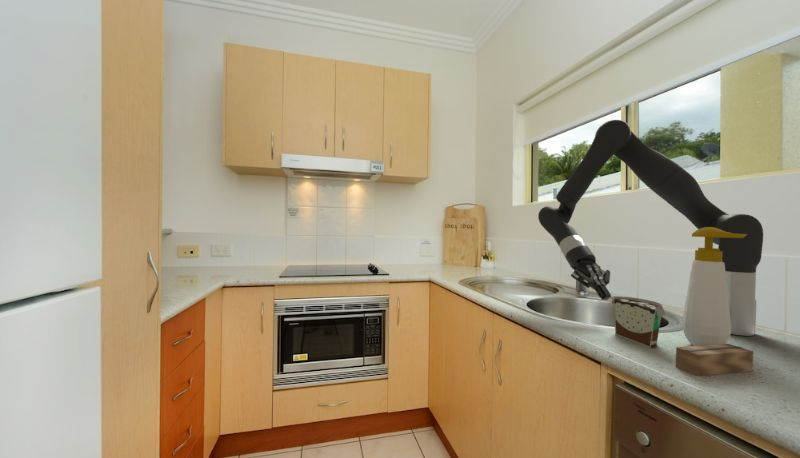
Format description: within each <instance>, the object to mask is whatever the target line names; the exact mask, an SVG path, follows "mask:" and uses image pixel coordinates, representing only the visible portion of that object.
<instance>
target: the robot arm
mask: <svg viewBox="0 0 800 458" xmlns="http://www.w3.org/2000/svg"><path fill="white" fill-rule="evenodd" d="M612 157H616V158H618V159H619V160H621V161H622V162H623V163H625V165H627V167H628V168H630V170H631V171H632V173H634V175H635V176H636V177H637V179H639V180H640V181H641V183H643V184H644V185H645V186H646V187H647V188H649V190H651V191H652V192H653V193H655V194H656V195H657V196H659V198H661V199H662V200H664V201H665V202H666V203H668V205H670V207H672V208H674V209H675V210H676V211H677V212H678V213H680V214H681V215H683V216H684V217H685V218H686V219H687V220H688V221H689V222H690V223H691V224H692V225H693V226H695V228H696V230H698V229H701V228H705V227H713V228H717V229H720V230H723V231H725V232H729V233H733V234H747V235H746V236H745V237H744V238H723V237H713V244H715V245H717V246H718V248H717V249H719V251H722V252H723V253H722V262H724V264H725V273H726V283H727V292H728V302H729V311H730V321H731V334H730V335H735V336H746V337H751V336H752V337H753V336H754V335H755V334H756V328H757V327H756V326H757V323H756V322H757V299H756V283H757V282H756V281H757V279H756V278H757V267H758V266H759V264H760V262H761V260H762V254H763V253H762V252H763V244H764V243H763V242H764V229H763V225H762V223H761V222H760V221H759V219H757V218H756V217H754V216H753V215H750V214H745V213H733V214H729V213H727V212H725V211H723V210H722V209H720V208H719V207H718V206H716V205H715V204H714V203H712V202H711V201H710V199H708V198H707V197H706V196H705V194H704V192H703V191H702V189H701V186H700V185H699V183H698V181H697V180H696V178H695V177H694V176H693V175H692V174H690V173H689V171H687V170H685V169H684V168H683V167H682V166H681V165H679V164H678V163H676V162H675V161H673V160H672V159H671V158H669V157H668V156H666V155H664V154H662V153H661V152H659V151H657V150H655V149H653V148H651V147H650V146H648V145H647V144H645V143H644V142H643V141H642V140H641V139H640V138H639V137H638V136H637V135H636V134H635V133H634V132H633V131H632V130H631V127H630V125H629V123H627V122H626V121H624V120H622V119H611V120H607V121H605V122H604V123H602V124H601V125H599V127H598V128H597V130H596V132H595V135H594V138H593V141H592V142H591V144H590V146H589V149H588V150H587V152H586V154H585V155H584V156H583V159H582V160H581V162H579V164H578V166H577V167H575V169H574V170H573V172H572V173H571V174H570V176H569V177H568V178H567V179H566V181H565V182H564V184H563V185H562V187H561V188H560V190H559V191H558V193H556V194H557V195H556V197H555V199H556V201H557V202H559V206H558V208H557V207H553V206H543V207H542V208H541V209H540V210H539V212H538V215H537V216H538V222H539V224H540V225H541V226H542V228H543V229H544V230H545V231H546V232H547V233H548V234H550V235H551V237H552V238H553V239H554V241H555V242H556V243H557V245H558V247H559V249H560V251H561V254H562V255H563V256H564V258H565V260H566V261H567V263H568V265H569V266H570V268H571V269H572V270H573V272H572V273H571V274H570V277H571V278H573V279H574V280H576V281H577V282H578V283H580V284H582V286H584V287H586V289H587V288H588V289H589V288H591V289H592V290H594V291H595V292H596V294H597V295H598V297H599V298H600V299H601V300H602V301H608V300H609V299H611V297H612V295H611V293H610V291H609V289H608V288H607V285H609V284H610V281H611V271H610V269H606V270H604V269H602V268H601V266H600V265H599V264H597V262H596V261H597V259H596V256H595V254H594V252H592V251H591V249H590V247H589V246H588V245H587V243H586V242H585V240H584V239H583V238H581V237H580V235H579V233H578V232H577V230H576V229H575V228H574V227H573V226H572V225H570V224H569V223H570V221H571V219H572V216H573V213H574V211H575V209H576V206H577V204H578V203H579V201H580V200H581V199H582V197H583V196H584V195H585V193H586V191H588V189H589V187H590V186H591V184H592V183H593V181H594V179H595V178H596V177H597V175H598V174H599V173H600V171H601V170H602V169H603V167H605V165H606V164H607V162H608V161H610V159H611V158H612Z"/></svg>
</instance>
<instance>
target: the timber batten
mask: <svg viewBox="0 0 800 458" xmlns="http://www.w3.org/2000/svg"><path fill="white" fill-rule="evenodd" d="M675 349H676V350H675V368H678V369H681V370H683V371H685V372H687V373H691V374H693V375H695V376H697V377H699V376H700V377H701V376H712V375H721V374H722V375H723V374H735V373H744V372H746V373H747V372H753V371H754V368H753V366H754V351H753V350H750V349H747V348H744V347H742V346H737V345H734V344H730V343H726V344H718V345H702V346H693V345H691V346H688V345H687V346H677V347H676V348H675Z"/></svg>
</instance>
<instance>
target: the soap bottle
mask: <svg viewBox="0 0 800 458" xmlns="http://www.w3.org/2000/svg"><path fill="white" fill-rule="evenodd" d="M746 235H747V234H733V233H729V232H725V231H723V230H720V229H717V228H713V227H705V228H701V229H696V230H695V231H693V233H691V237H695V238H696V237H697V238H698V237H699V238H704V246H703V247H698V248H697V249H695V251H694V259H692V264H691V269H690V274H689V278H688V279H689V280H688V286H687V291H686V296H685V302H684V307H683V313H682V324H681V325H682V326H681V327H682V330H683V334H684V337H685V338H686V340H687V341H688V343H689V344H690V345H691V346H702V345H718V344H728V341H729V338H730V337H731V335H732V334H731V321H730V311H729V302H728V292H727V283H726V273H725V264H724V262H722V253H723V252H722V251H719V249H718V248H716V247H715V248H714V243H713V237H723V238H744V237H745V236H746Z"/></svg>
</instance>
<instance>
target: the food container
mask: <svg viewBox="0 0 800 458" xmlns="http://www.w3.org/2000/svg"><path fill="white" fill-rule="evenodd" d="M611 304H612V305H613V316H614V317H613V318H614V332H615V333H614V334H615V335H616V336H618V337H621V338H623V339H626V340H629V341H632V342H634V343H637V344H639V345H642V346H644V345H645V346H644V347H646V348H649V349H653V348H656V347H657V344H658V338H659V333H660V326H661V321H662V320H661V319H662V317H663V316H665V315H666V312H665V308H664V306H663V304H661V302H657V301H654V300H650V299H649V300H648V299H644V298H639V297H632V296H631V297H630V296H621V295H619V296H618V295H615V296H613V297H612V300H611Z"/></svg>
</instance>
